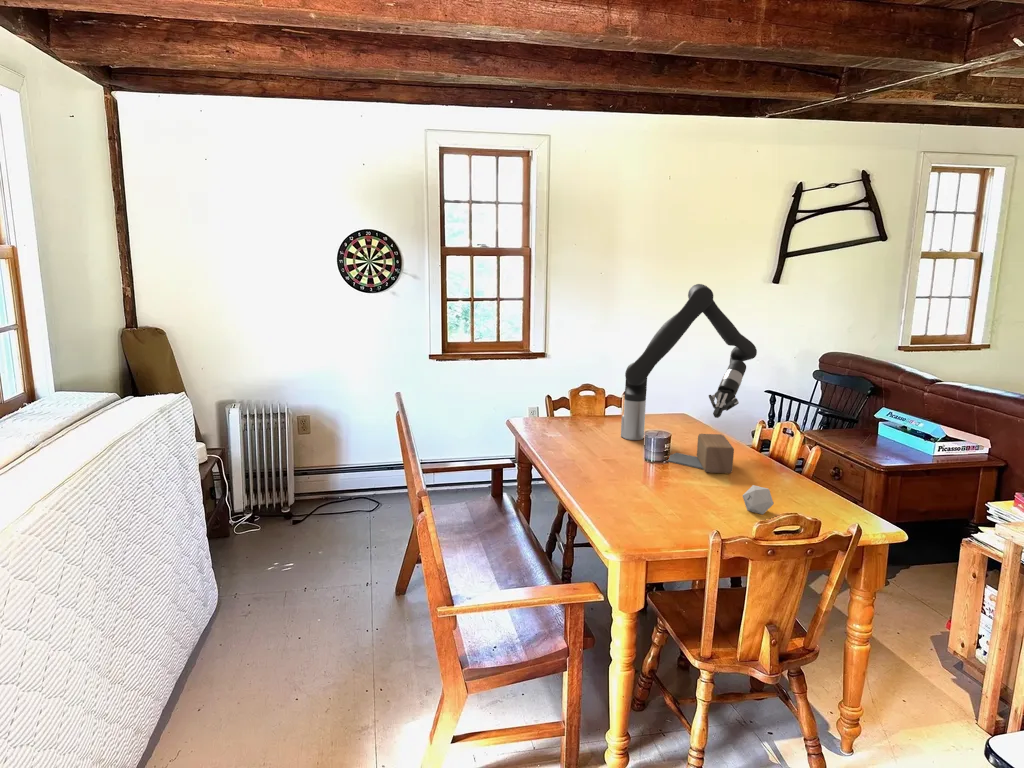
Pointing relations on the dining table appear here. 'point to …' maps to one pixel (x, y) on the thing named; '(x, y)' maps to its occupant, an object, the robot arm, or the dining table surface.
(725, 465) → the wooden block
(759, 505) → the die
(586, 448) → the dining table surface
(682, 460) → the mat
